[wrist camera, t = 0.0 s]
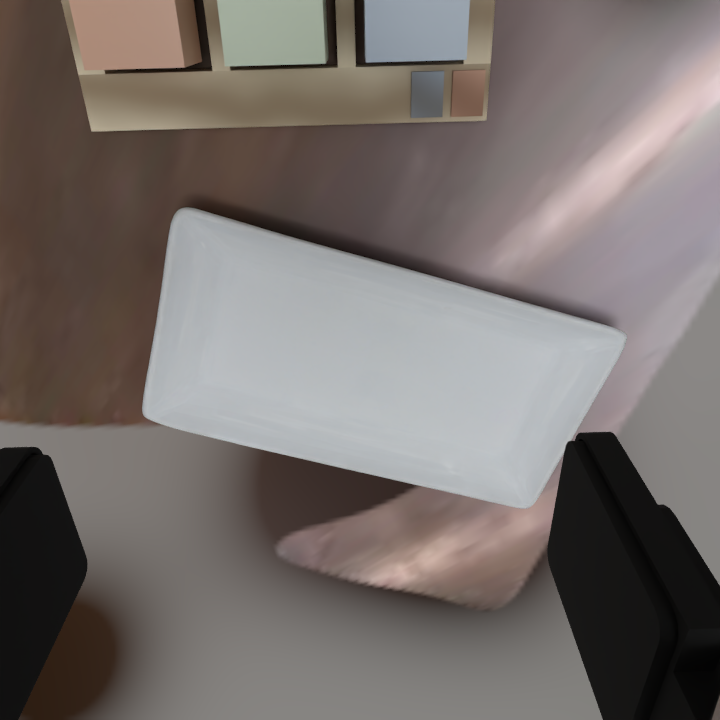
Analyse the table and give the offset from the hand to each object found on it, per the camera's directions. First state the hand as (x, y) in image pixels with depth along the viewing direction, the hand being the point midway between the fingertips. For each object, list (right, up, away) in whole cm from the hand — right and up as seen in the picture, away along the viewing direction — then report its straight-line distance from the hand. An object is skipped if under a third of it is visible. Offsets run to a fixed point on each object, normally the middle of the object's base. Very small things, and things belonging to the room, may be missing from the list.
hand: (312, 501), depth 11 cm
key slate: (+4, +22, +21) cm, 31 cm away
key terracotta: (-10, +21, +21) cm, 32 cm away
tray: (+2, +3, +35) cm, 35 cm away
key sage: (-3, +21, +21) cm, 30 cm away
